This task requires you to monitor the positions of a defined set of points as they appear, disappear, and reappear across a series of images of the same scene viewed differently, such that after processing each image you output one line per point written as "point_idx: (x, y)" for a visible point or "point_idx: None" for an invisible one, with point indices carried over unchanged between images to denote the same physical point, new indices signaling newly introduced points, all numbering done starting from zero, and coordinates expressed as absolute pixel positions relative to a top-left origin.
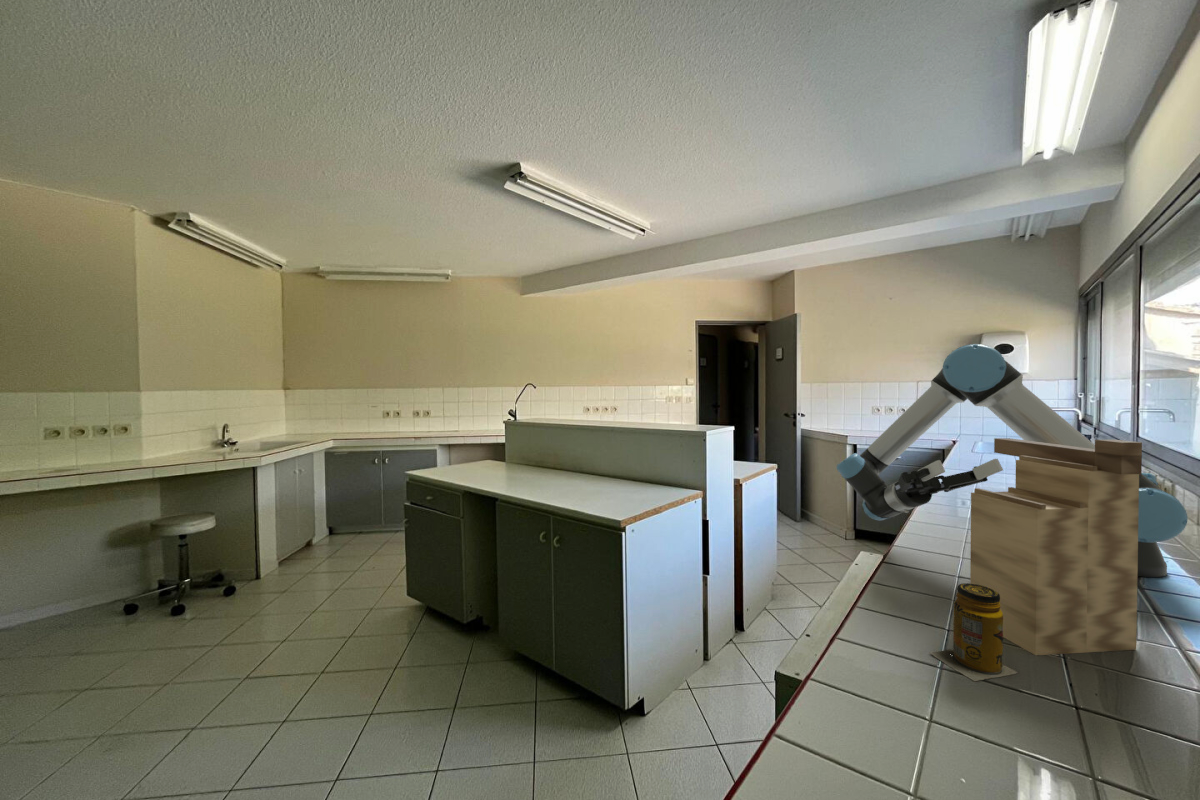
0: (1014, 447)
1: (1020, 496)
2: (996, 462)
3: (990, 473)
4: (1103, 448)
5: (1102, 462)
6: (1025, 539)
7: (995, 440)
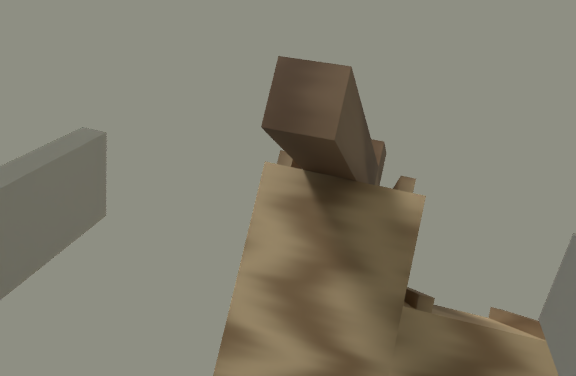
0: (355, 130)
1: (447, 313)
2: (103, 160)
3: (55, 251)
4: (381, 161)
5: None
6: None
7: (350, 79)
